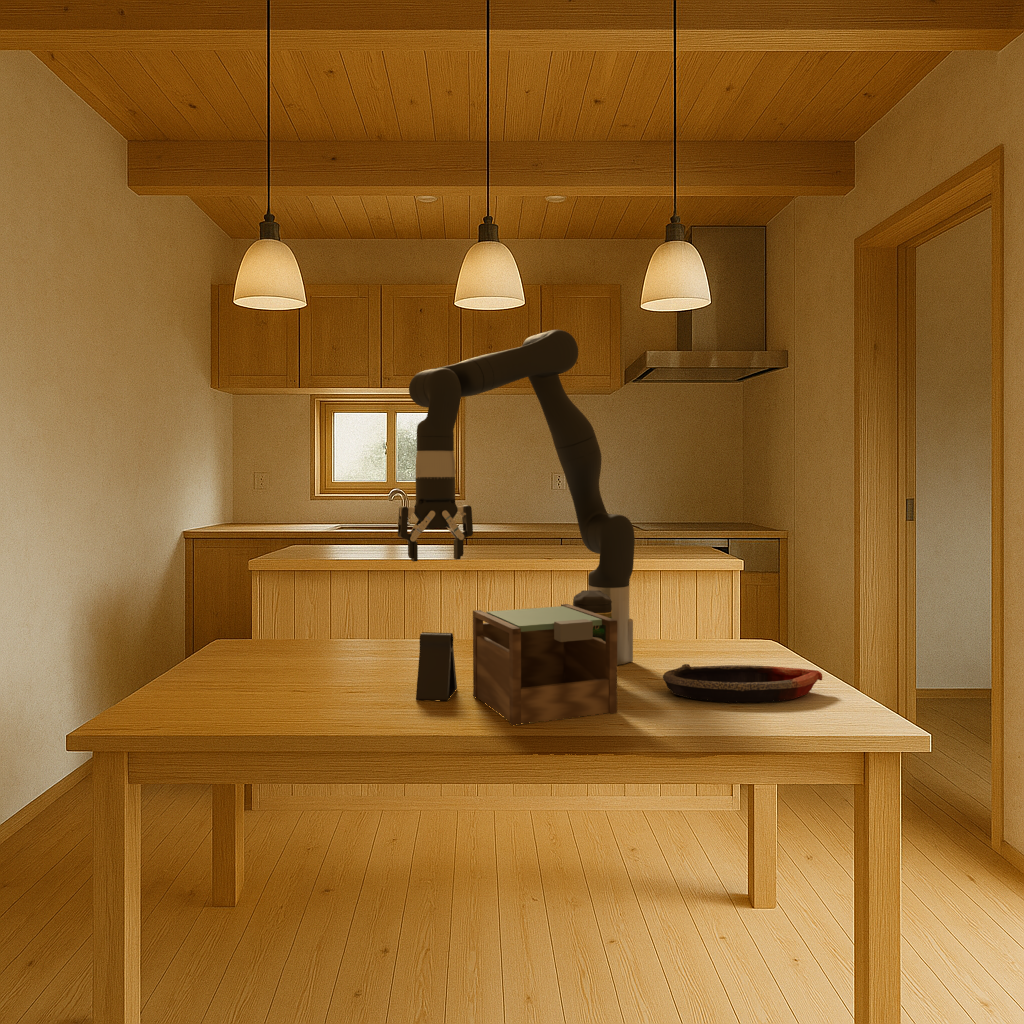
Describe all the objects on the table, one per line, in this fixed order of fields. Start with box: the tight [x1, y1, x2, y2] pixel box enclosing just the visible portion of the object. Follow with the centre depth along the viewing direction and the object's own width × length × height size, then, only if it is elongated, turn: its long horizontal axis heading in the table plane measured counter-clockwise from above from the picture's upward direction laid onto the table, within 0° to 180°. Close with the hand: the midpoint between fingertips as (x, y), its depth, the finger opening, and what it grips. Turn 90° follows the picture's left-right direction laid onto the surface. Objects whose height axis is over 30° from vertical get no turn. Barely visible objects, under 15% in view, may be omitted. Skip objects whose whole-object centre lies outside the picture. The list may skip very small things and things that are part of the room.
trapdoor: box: [485, 605, 602, 642], centre depth 151 cm, size 16×22×3 cm
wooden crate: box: [472, 603, 618, 726], centre depth 154 cm, size 20×20×16 cm
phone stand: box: [415, 631, 458, 702], centre depth 161 cm, size 9×6×12 cm, turn 171°
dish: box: [662, 663, 823, 704], centre depth 161 cm, size 16×31×5 cm, turn 90°
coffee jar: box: [572, 589, 612, 642], centre depth 170 cm, size 10×8×19 cm
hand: (435, 560), depth 160 cm, fingers open, 8 cm apart
